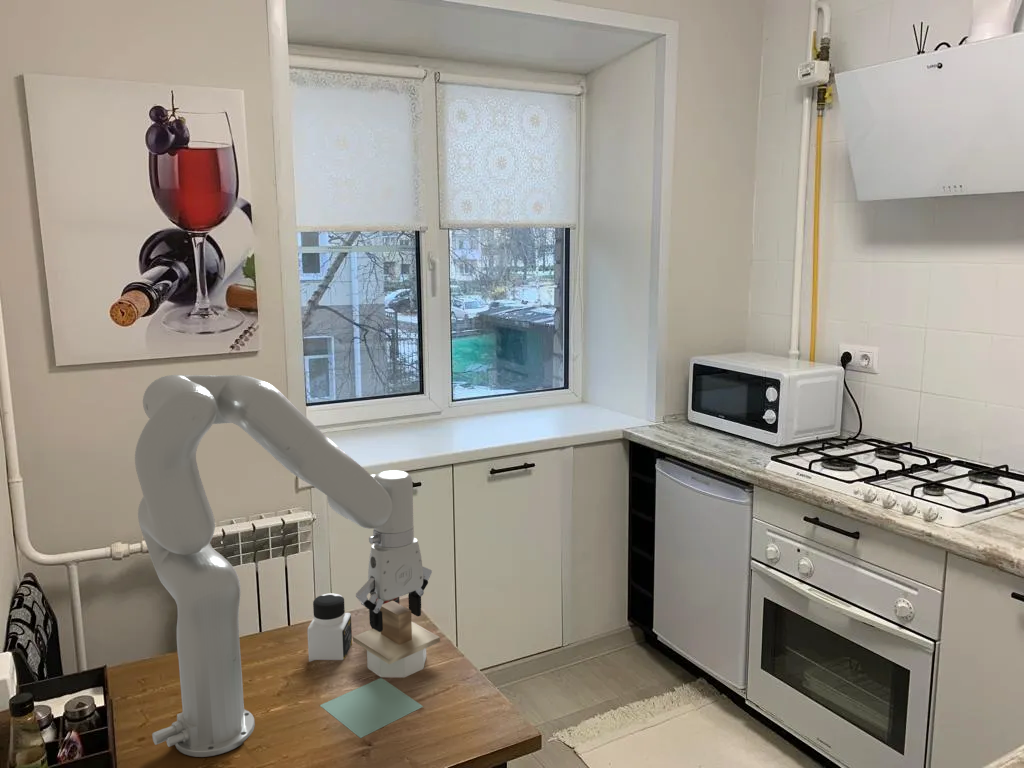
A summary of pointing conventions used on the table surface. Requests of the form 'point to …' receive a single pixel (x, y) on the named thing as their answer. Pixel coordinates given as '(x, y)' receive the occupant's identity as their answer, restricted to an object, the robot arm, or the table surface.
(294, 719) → the table surface
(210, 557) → the robot arm
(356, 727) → the mat
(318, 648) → the medicine bottle
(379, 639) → the lid
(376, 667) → the bowl
